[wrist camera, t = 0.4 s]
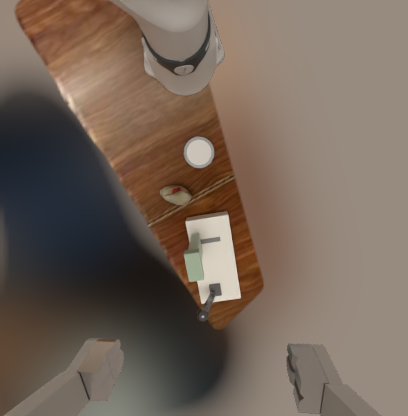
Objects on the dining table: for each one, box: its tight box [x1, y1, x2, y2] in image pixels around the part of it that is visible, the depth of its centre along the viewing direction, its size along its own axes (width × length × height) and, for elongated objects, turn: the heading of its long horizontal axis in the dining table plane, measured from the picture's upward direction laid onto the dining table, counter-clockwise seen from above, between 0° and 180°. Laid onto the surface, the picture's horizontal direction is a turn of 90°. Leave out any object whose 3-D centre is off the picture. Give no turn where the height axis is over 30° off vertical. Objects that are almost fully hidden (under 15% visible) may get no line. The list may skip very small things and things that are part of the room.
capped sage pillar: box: [184, 233, 204, 282], centre depth 48 cm, size 6×3×13 cm, turn 10°
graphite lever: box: [197, 292, 216, 321], centre depth 51 cm, size 3×3×9 cm
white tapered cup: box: [184, 137, 214, 168], centre depth 50 cm, size 7×7×7 cm
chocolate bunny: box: [160, 185, 191, 205], centre depth 51 cm, size 6×8×10 cm
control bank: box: [185, 211, 241, 304], centre depth 57 cm, size 24×11×5 cm, turn 10°
